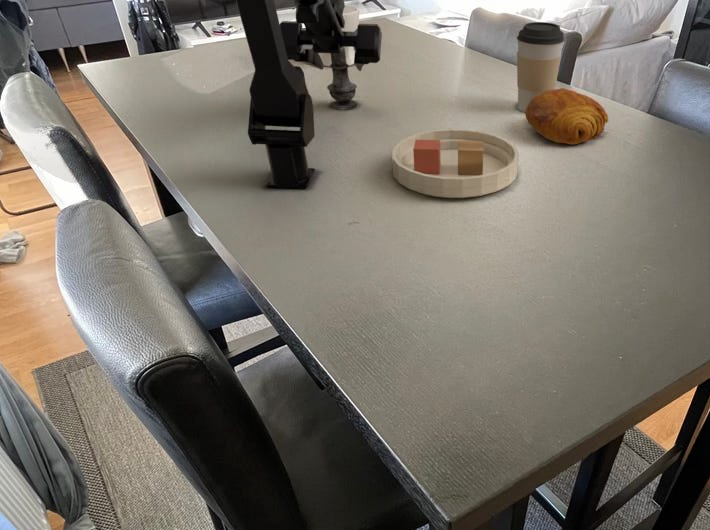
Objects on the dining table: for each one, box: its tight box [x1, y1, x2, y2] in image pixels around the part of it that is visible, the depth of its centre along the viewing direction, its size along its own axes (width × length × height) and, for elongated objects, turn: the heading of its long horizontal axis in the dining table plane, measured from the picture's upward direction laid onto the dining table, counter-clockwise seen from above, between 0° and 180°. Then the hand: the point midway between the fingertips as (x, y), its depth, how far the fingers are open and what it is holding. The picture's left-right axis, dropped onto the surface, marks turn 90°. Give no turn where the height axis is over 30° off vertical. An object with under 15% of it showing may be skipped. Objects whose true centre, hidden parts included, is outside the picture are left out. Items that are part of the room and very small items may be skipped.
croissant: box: [524, 87, 609, 145], centre depth 108 cm, size 14×16×8 cm
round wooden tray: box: [391, 128, 520, 199], centre depth 95 cm, size 20×20×4 cm
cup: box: [319, 4, 360, 68], centre depth 138 cm, size 12×12×11 cm
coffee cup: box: [516, 21, 565, 113], centre depth 115 cm, size 9×9×15 cm
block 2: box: [458, 141, 484, 175], centre depth 94 cm, size 4×4×4 cm
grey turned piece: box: [326, 46, 358, 111], centre depth 115 cm, size 6×6×12 cm
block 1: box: [413, 140, 441, 174], centre depth 94 cm, size 4×4×4 cm
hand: (341, 67), depth 116 cm, fingers open, 7 cm apart
